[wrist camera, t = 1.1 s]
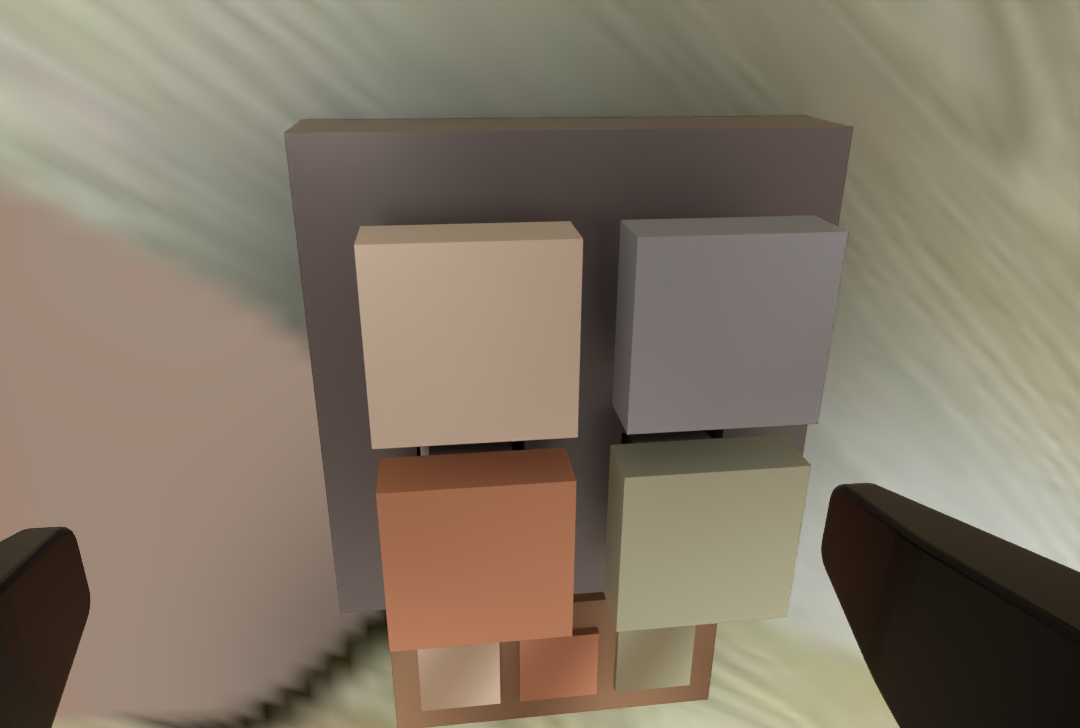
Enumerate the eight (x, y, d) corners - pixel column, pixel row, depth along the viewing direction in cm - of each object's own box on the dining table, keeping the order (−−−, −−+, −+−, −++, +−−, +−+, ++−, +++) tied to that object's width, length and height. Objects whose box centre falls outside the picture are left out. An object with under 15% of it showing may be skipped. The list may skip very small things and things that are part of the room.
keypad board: (805, 115, 19) (853, 127, 17) (751, 526, 24) (783, 576, 22) (301, 119, 18) (284, 132, 16) (348, 556, 23) (340, 612, 20)
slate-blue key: (758, 187, 19) (848, 231, 15) (740, 344, 20) (817, 423, 16) (592, 190, 18) (637, 237, 14) (586, 351, 20) (626, 434, 16)
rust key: (546, 390, 20) (576, 480, 16) (545, 522, 22) (572, 635, 18) (386, 397, 20) (375, 494, 16) (397, 533, 21) (389, 652, 17)
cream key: (548, 191, 18) (583, 238, 14) (547, 353, 20) (577, 437, 16) (371, 195, 18) (353, 244, 14) (383, 360, 19) (371, 448, 15)
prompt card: (714, 577, 25) (724, 596, 24) (702, 685, 26) (710, 706, 26) (388, 604, 24) (387, 624, 23) (398, 714, 25) (397, 738, 24)
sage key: (736, 380, 21) (811, 466, 17) (722, 510, 22) (786, 617, 18) (585, 387, 20) (624, 478, 16) (581, 520, 22) (616, 632, 18)
